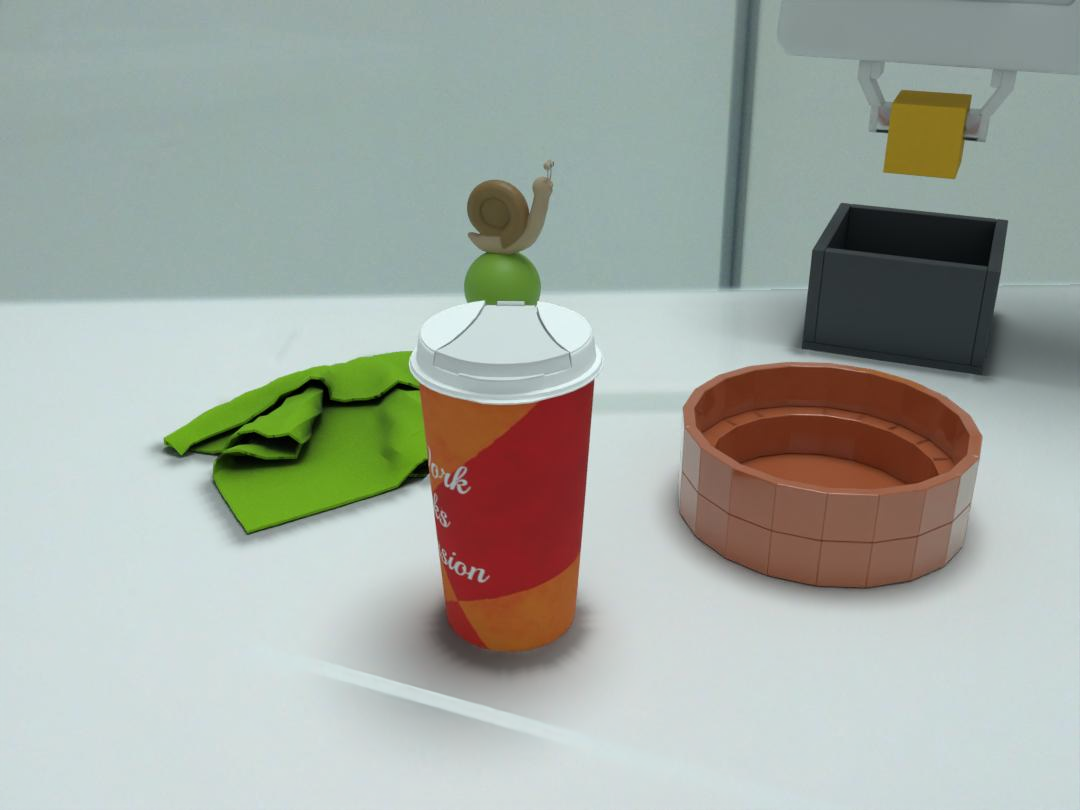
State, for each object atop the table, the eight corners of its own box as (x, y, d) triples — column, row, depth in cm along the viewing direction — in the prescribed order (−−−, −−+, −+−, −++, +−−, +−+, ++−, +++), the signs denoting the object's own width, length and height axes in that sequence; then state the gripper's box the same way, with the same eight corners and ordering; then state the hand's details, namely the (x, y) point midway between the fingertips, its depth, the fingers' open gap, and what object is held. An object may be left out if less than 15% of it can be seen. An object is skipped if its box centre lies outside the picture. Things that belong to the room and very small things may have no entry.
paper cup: (435, 570, 55) (421, 292, 49) (597, 573, 54) (603, 294, 48) (412, 677, 48) (392, 369, 42) (598, 681, 47) (605, 372, 41)
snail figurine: (540, 343, 79) (540, 171, 74) (453, 332, 81) (447, 163, 76) (563, 315, 84) (564, 151, 79) (480, 305, 86) (476, 144, 80)
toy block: (961, 162, 77) (972, 94, 75) (955, 179, 74) (966, 108, 72) (892, 156, 79) (901, 89, 77) (882, 172, 75) (891, 102, 73)
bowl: (972, 478, 62) (989, 386, 60) (951, 627, 51) (971, 520, 48) (716, 432, 67) (722, 346, 65) (642, 559, 56) (647, 459, 53)
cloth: (530, 359, 77) (529, 325, 76) (513, 537, 57) (512, 495, 56) (226, 356, 77) (222, 322, 76) (106, 531, 58) (98, 490, 57)
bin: (991, 314, 84) (1008, 219, 81) (981, 376, 74) (1001, 271, 71) (830, 293, 88) (840, 202, 85) (801, 349, 78) (812, 249, 75)
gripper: (1150, -95, 68) (1098, 139, 74) (802, -102, 75) (782, 112, 81) (1157, -89, 63) (1101, 162, 69) (783, -98, 70) (762, 131, 76)
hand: (926, 135), depth 75 cm, fingers closed on toy block, 4 cm apart
